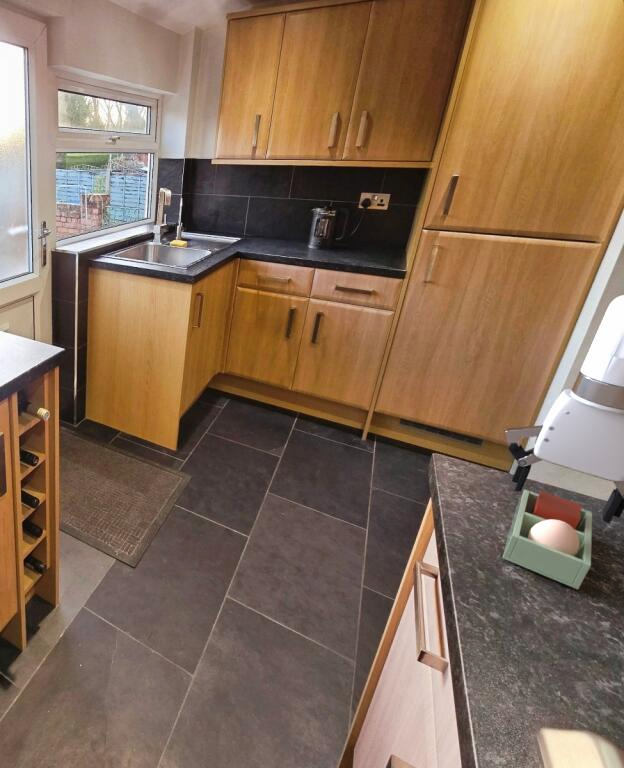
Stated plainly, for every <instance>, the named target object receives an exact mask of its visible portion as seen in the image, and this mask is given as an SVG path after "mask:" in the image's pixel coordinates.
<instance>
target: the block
mask: <svg viewBox="0 0 624 768" xmlns="http://www.w3.org/2000/svg"><path fill="white" fill-rule="evenodd" d="M538 494H539V496H538V498H537V500H536V503H535V505H534V507H533V509H532V511H531V514H533V515H535V516H538V517H541V518H544V519H546V520H549V519H554V520H560V521H563V522H566V523H567V524H569V525H570V526H571V527H573V529H574V530H575V529H576V527H577V525H578V523H579V521H580V517H581V509H582V504H580V503H577V502H574V501H572V500H569V499H565V498H563V497H560V496H556V495H553V494H550V493H548V492H544V491H540V492H539V493H538Z"/></svg>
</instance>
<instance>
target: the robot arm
mask: <svg viewBox="0 0 624 768" xmlns="http://www.w3.org/2000/svg"><path fill="white" fill-rule="evenodd" d="M584 358H585V359H584V360H583V363H582V365H581V368H580V370H579V372H578V374H577V377H576V378H575V382H574V383H573V386H572V388H565V389H563V391H562V392H561V393H560V394H559V396H558V397H557V398H556V400H555V401H554V403H553V405H552V406H551V408H550V409H549V411H548V413H547V415H546V417H545V419H544V421H543V422H542V425H528V426H517V427H508V428H506V430H505V432H504V435H505V441H506V443H507V447H508V451H509V452H510V453H511V455H512V456H513V458H514V459H515V460H516V464H517V466H516V468H515V470H514V473H513V475H512V478H511V483H513V484H515V488H514V492H517V493H521V492H522V491H523V489H524V486H525V483H526V481H527V479H528V476H529V474H530V472H531V469H532V465H533V464H536V463H539V462H541V461H543V462H547V463H550V464H553V465H556V466H559V467H562V468H566V469H569V470H571V471H575V472H578V473H581V474H585V475H589V476H591V477H594V478H599V479H602V480H605V481H609V482H613V484H614V485H615V487H616V488H613V490H612V491H611V494H610V495H609V497H608V499H607V501H606V503H605V505H604V507H603V509H602V512H601V513H602V519H601V521H603V522H605V523H608V524H610V523H611V522H612V520H613V517H616V518H620V517H621V516H622V513H623V512H624V294H622V295H619V296H617V297H615V298H613V300H612V301H611V302H610V303H609V305H608V307H607V309H606V311H605V313H604V316H603V317H602V319H601V322H600V324H599V326H598V329H597V331H596V334H595V336H594V338H593V340H592V343H591V345H590V347H589V350H588V352H587V354H586V356H585V357H584ZM522 438H535V442H534V447H532V448H530V449H527V450H525V449H524V447H523V446H522V445H521V442H520V440H519V439H522Z"/></svg>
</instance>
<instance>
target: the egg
mask: <svg viewBox="0 0 624 768" xmlns="http://www.w3.org/2000/svg"><path fill="white" fill-rule="evenodd" d="M528 539H530V540H532V541H535V542H537V543H540V544H543V545H545V546H548V547H550V548H553V549H555V550H558V551H561V552H563V553H566V554H568V555H571V556H575V555H576V554H577V552H578V550H579V545H580V543H579V538H578V535H577V533H576V531H575V530H574V529H573V527H571V526H570V525H569V524H567V523H566V522H563V521H560V520H554V519H549V520H545V521H542V522H539V523H537V524H535V525H534V526H533V527H532V528H531V530H530V532H529V535H528Z"/></svg>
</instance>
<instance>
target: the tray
mask: <svg viewBox="0 0 624 768" xmlns="http://www.w3.org/2000/svg"><path fill="white" fill-rule="evenodd" d="M539 494H540V493H537V492H533V491H531V490H528V489H524V488H523V490H522V493H521V495H520V498H519V500H518V503H517V504H516V507H515V511H514V514H513V518H512V521H511V525H510V528H509V531H508V535H507V539H506V542H505V546H504V550H503V554H502V559H503V560H506V561H509V562H511V563H513V564H515V565H518V566H521V567H522V568H525V569H528V570H530V571H532V572H535V573H537V574H539V575H542V576H544V577H546V578H549V579H551V580H554V581H555V582H558V583H561V584H562V585H563V584H564V585H566V586H568V587H571V588H573V589H576V590H579V589H580V588H581V585H582V583H583V582H584V580H585V578H586V576H587V574H588V573H589V571H590V569H591V567H592V539H593V538H592V537H593V535H592V534H593V533H592V532H593V512H592V511H590V510H587V509H583V508H581V517H580V521H579V523H578V525H577V527H576V529H575V531H576V533H577V535H578V538H579V543H580V545H579V550H578V552H577V554H576V555H575V556H571V555H568V554H566V553H563V552H561V551H558V550H555V549H553V548H550V547H548V546H545V545H543V544H540V543H537V542H535V541H532V540H530V539H528V535H529V532H530V530H531V528H532V527H533V526H534V525H535V524H537V523H539V522H542V521H545V520H546V519H544V518H541V517H538V516H535V515H533V514H531V511H532V509H533V507H534V505H535V503H536V500H537V498H538V496H539Z"/></svg>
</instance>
